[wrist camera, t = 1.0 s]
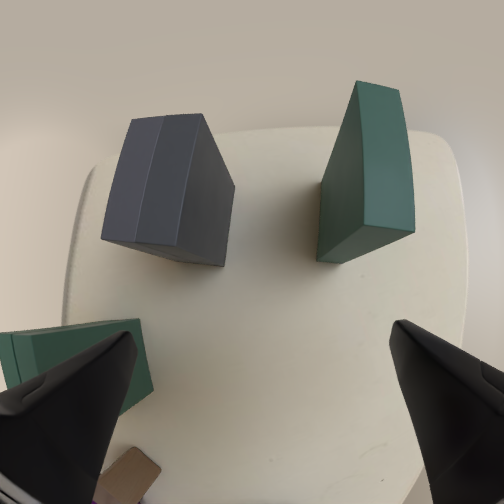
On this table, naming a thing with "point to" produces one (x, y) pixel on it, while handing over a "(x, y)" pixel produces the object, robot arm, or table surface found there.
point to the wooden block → (126, 479)
